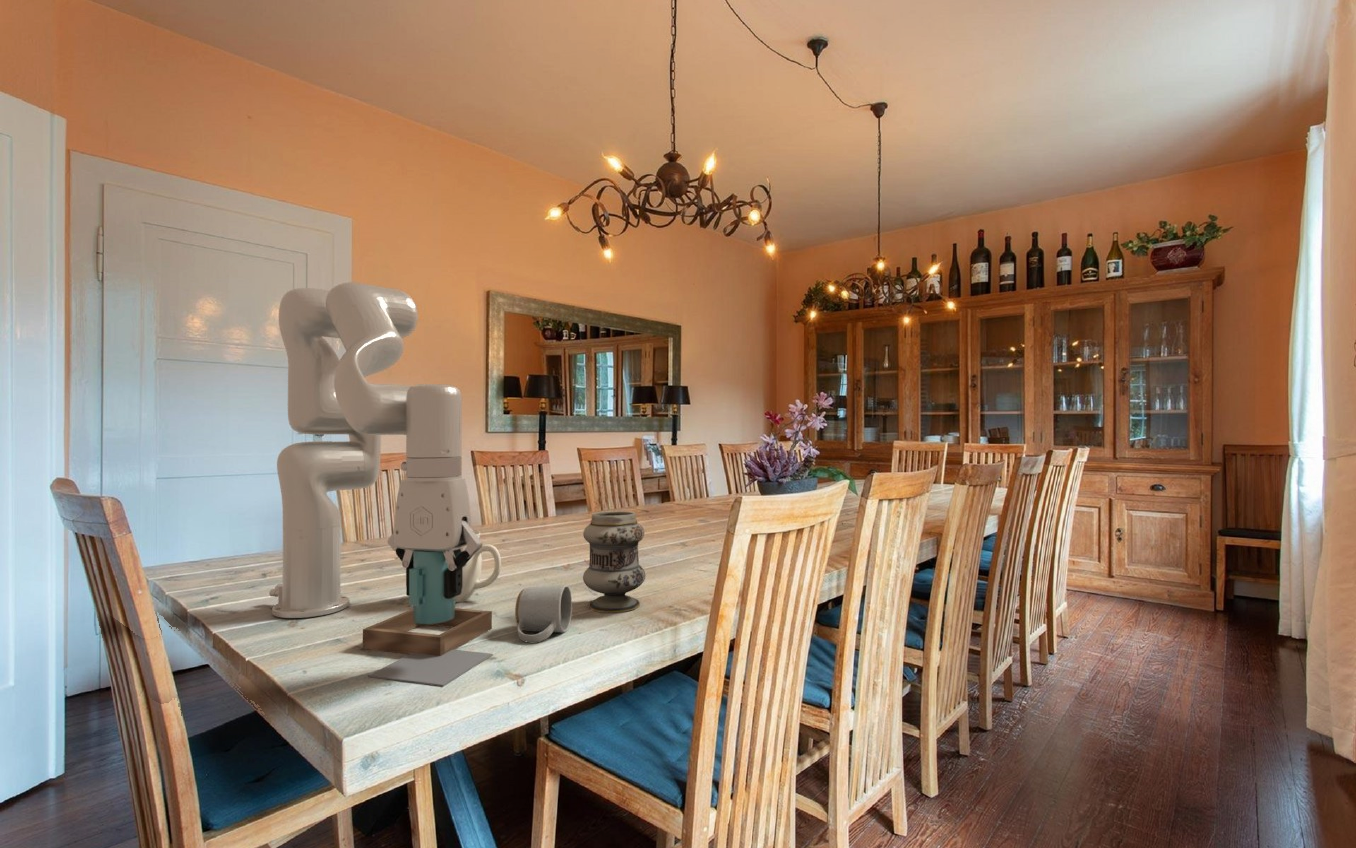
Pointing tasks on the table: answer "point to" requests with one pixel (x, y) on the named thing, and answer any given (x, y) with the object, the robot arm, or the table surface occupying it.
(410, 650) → the wooden tray
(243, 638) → the table surface
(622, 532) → the apothecary jar
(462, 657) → the slate mat
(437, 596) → the teal jug
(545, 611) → the ceramic mug
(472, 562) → the pitcher
